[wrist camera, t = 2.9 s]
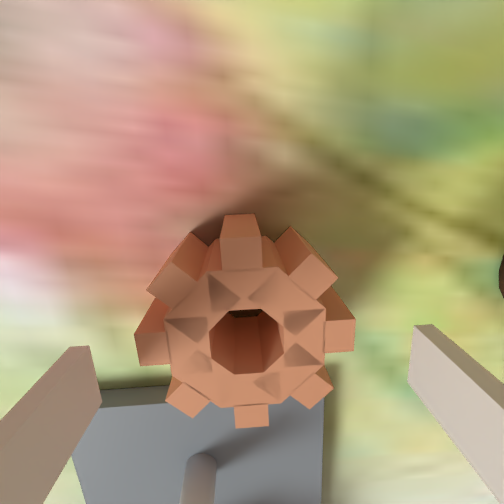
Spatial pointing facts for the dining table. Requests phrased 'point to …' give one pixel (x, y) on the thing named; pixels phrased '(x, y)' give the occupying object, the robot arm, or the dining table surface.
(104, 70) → the dining table surface
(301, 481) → the gear board
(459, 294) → the dining table surface
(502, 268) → the mug
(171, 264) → the gear
